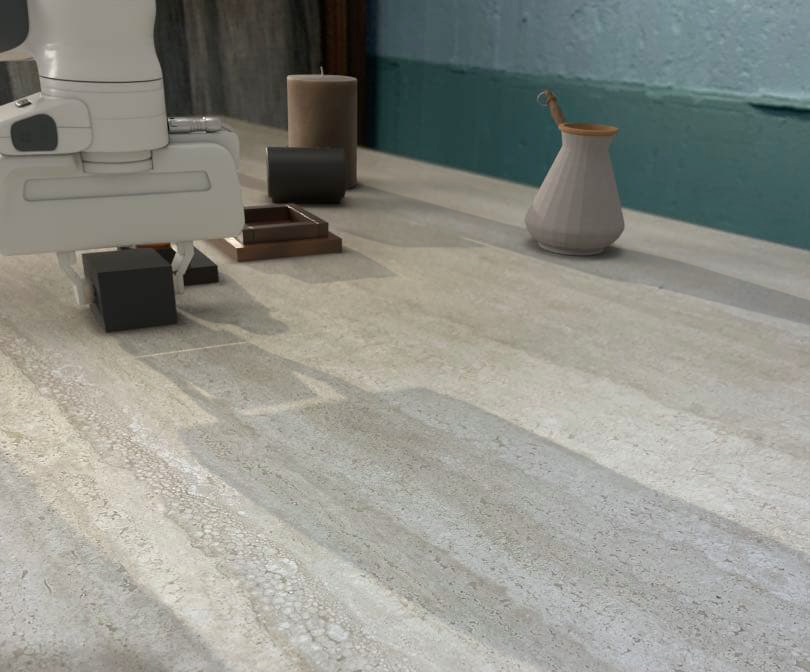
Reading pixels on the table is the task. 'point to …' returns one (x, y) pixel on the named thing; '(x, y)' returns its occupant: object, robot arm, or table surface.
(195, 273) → the dark piece
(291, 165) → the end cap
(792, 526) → the table surface
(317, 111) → the pillar candle
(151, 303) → the black block
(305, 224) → the tray
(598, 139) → the coffee pot
